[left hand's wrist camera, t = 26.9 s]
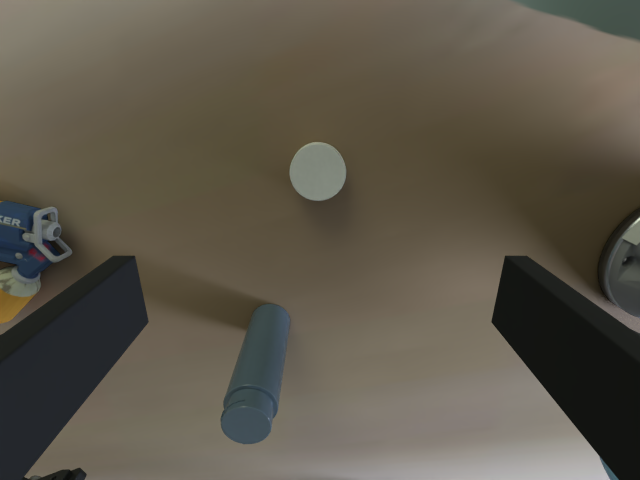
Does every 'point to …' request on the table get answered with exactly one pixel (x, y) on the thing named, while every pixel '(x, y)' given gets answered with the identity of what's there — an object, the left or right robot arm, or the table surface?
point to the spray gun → (25, 253)
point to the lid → (317, 171)
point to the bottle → (257, 377)
